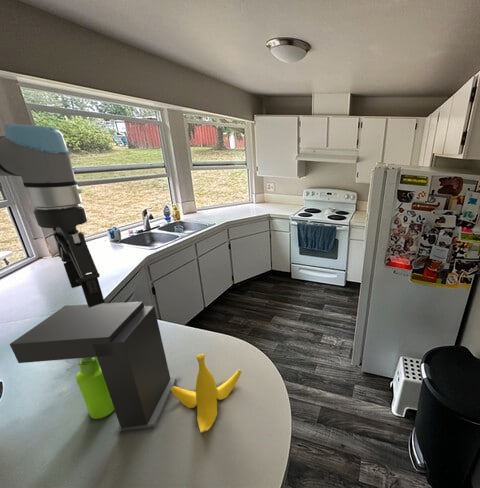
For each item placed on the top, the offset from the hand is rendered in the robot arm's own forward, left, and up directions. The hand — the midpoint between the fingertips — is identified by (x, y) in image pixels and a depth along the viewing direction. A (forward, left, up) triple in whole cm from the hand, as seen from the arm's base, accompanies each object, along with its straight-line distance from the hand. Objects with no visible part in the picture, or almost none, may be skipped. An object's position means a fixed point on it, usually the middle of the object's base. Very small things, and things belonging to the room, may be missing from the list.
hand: (87, 294), depth 59 cm
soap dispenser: (-3, -3, -34) cm, 34 cm away
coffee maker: (+2, -3, -34) cm, 34 cm away
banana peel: (+25, -7, -34) cm, 43 cm away
